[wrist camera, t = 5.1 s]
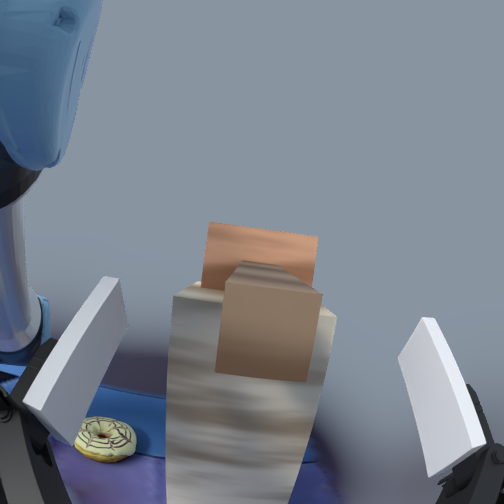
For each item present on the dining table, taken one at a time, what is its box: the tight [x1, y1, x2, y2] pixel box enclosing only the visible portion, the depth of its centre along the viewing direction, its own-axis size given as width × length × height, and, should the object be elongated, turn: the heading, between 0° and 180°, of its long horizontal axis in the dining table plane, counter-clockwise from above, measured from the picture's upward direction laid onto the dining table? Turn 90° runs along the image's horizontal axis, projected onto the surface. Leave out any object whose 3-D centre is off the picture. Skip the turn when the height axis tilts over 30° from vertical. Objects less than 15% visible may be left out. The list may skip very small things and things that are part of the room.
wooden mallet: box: [201, 222, 322, 382], centre depth 20 cm, size 22×10×6 cm, turn 0°
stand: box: [166, 281, 337, 504], centre depth 26 cm, size 10×12×30 cm
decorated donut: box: [74, 416, 137, 463], centre depth 36 cm, size 10×11×4 cm
